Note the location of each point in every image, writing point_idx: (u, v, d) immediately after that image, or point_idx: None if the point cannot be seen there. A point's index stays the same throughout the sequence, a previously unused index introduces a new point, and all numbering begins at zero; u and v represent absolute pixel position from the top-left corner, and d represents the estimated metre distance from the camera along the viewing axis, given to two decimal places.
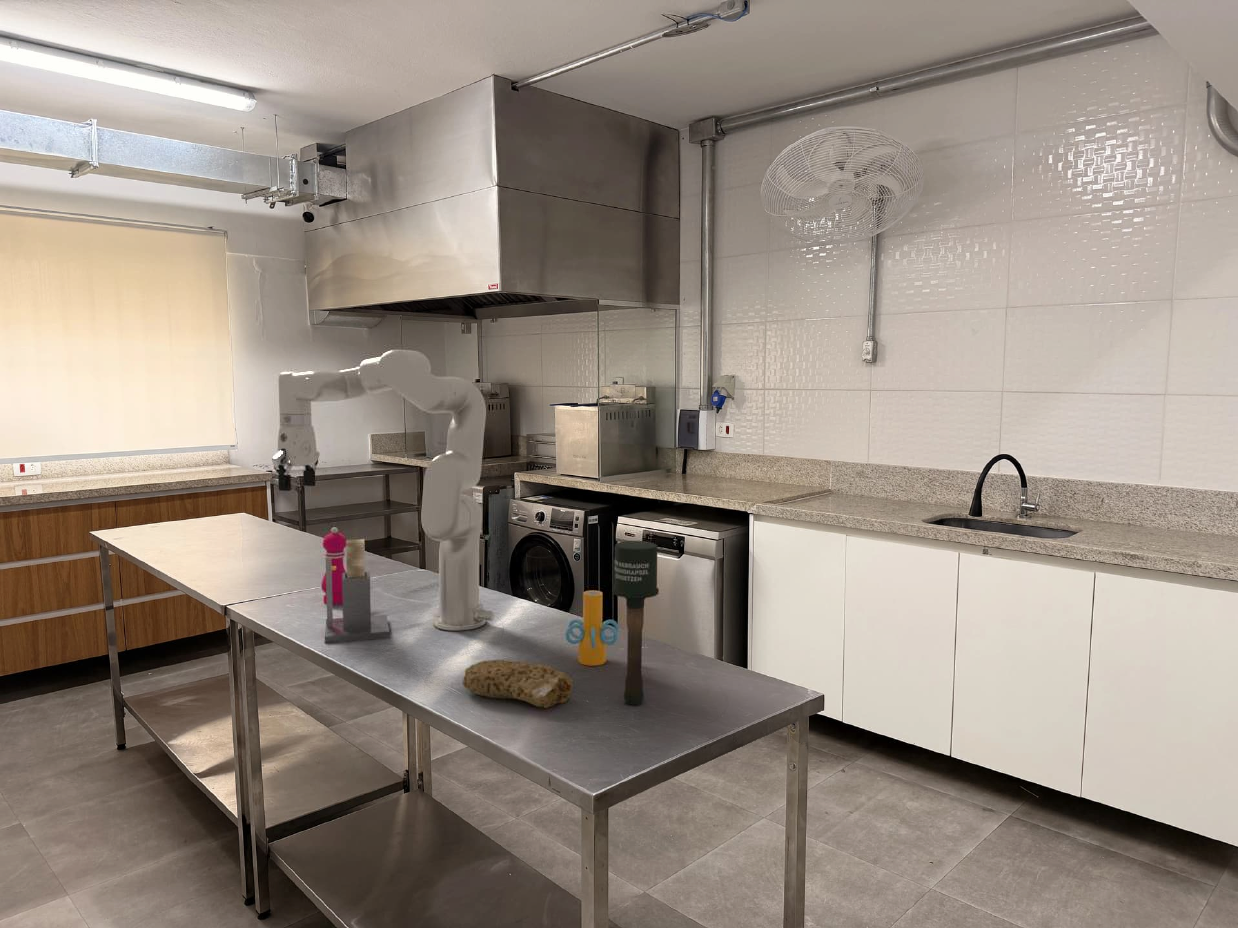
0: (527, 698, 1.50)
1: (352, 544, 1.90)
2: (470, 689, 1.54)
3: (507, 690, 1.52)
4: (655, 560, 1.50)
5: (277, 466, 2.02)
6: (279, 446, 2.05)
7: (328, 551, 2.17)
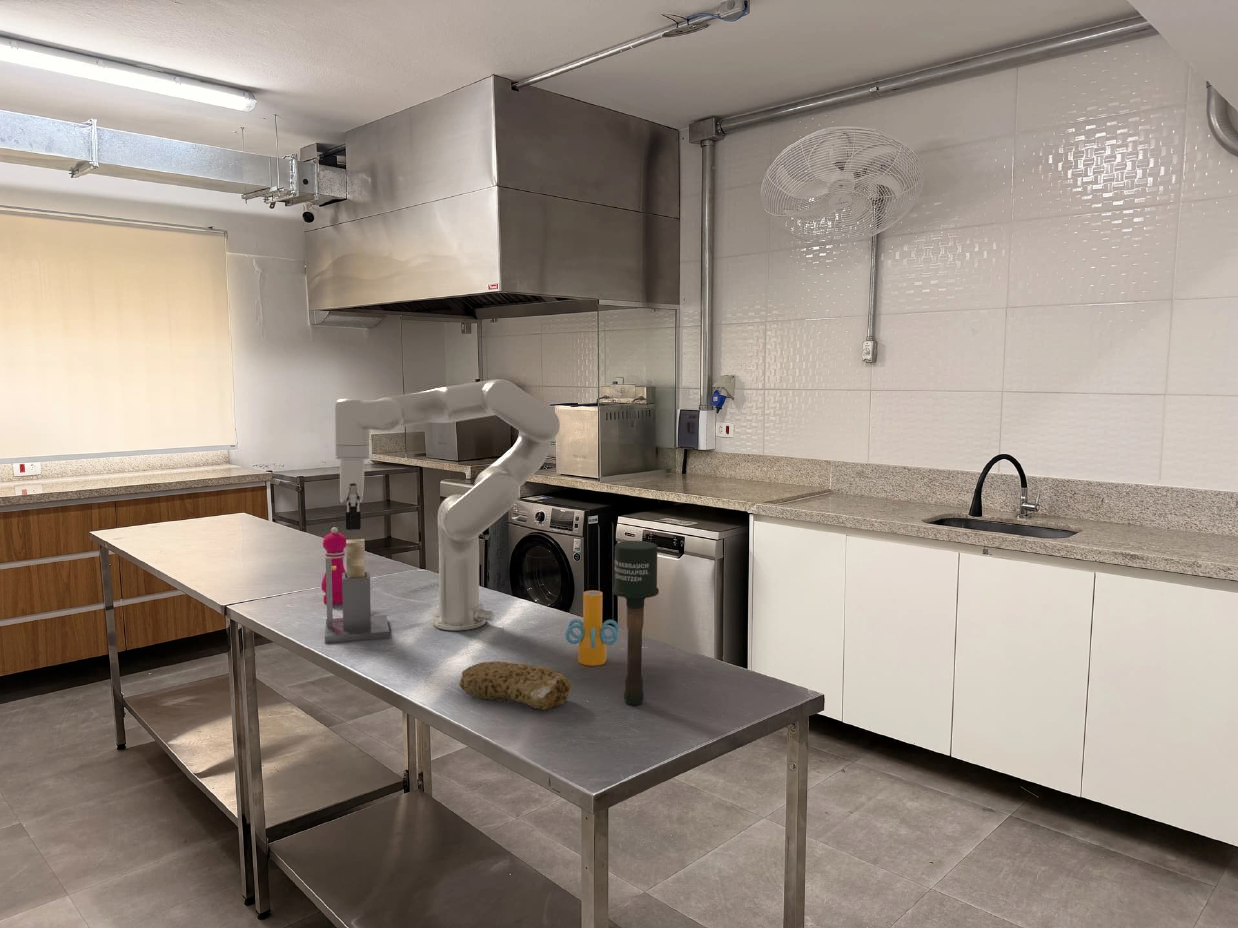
0: (525, 700, 1.49)
1: (352, 544, 1.90)
2: (467, 691, 1.53)
3: (505, 692, 1.51)
4: (655, 560, 1.50)
5: None
6: None
7: (328, 551, 2.17)
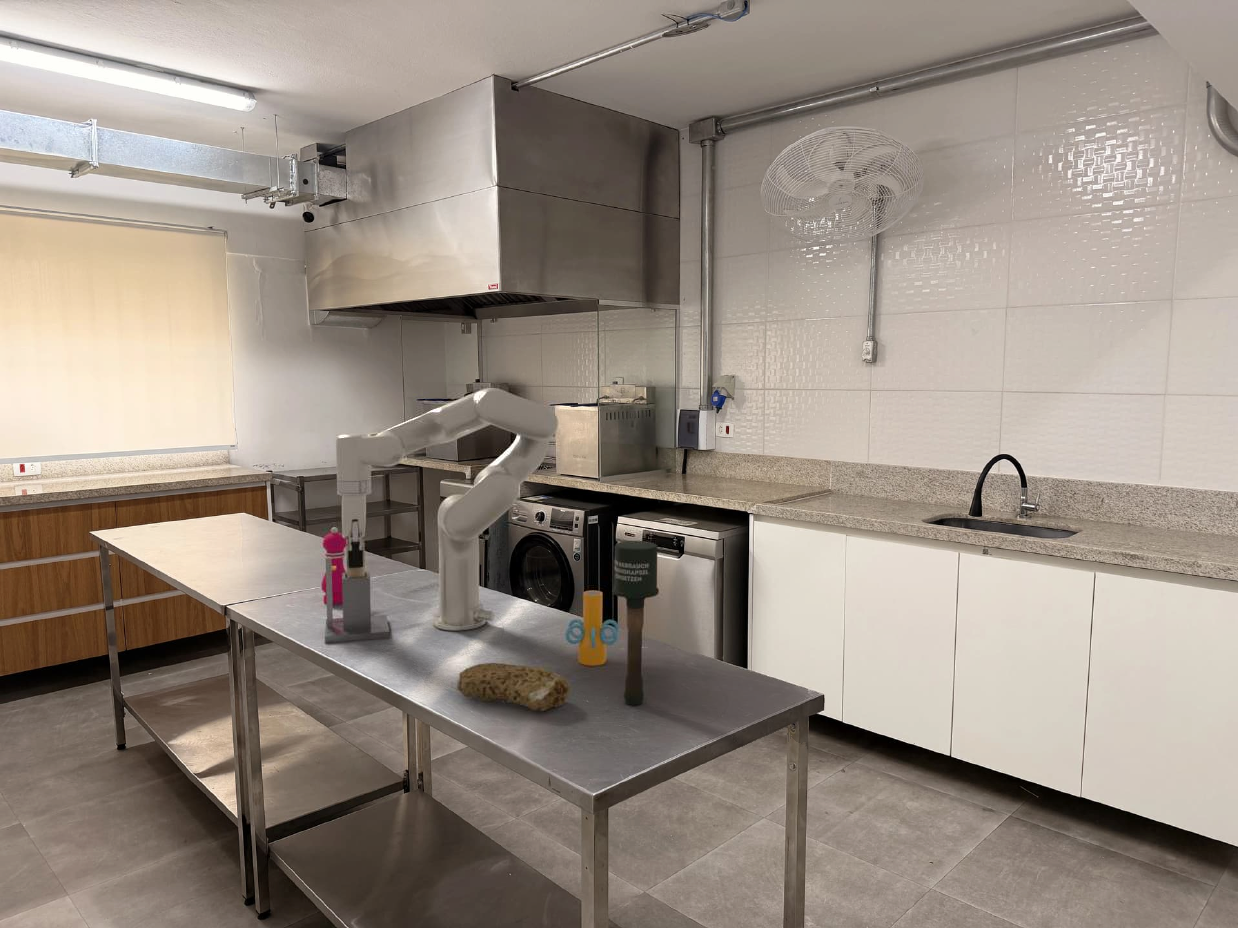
0: (524, 702, 1.48)
1: None
2: (465, 693, 1.52)
3: (503, 694, 1.50)
4: (655, 560, 1.50)
5: None
6: None
7: (328, 551, 2.17)
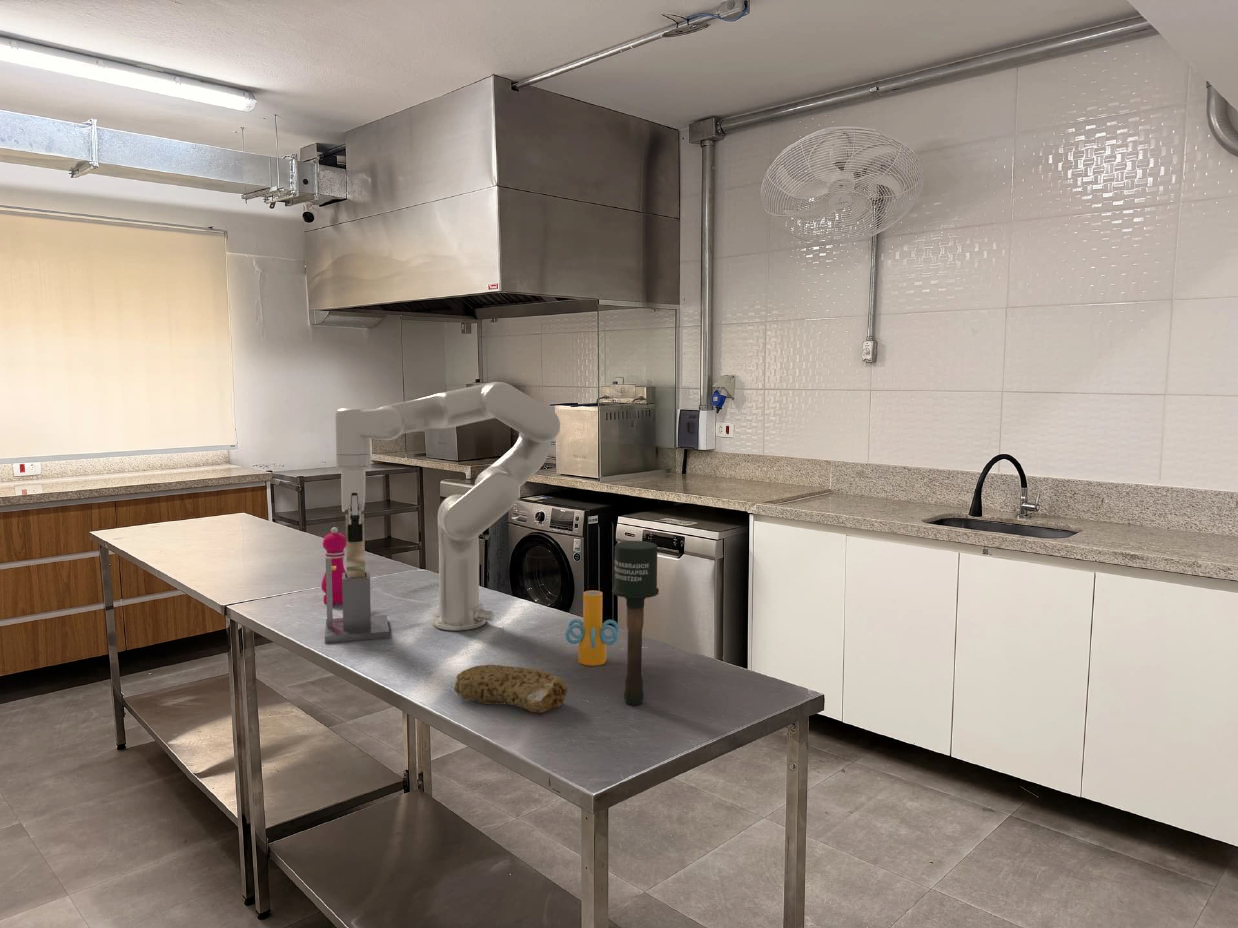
0: (522, 703, 1.47)
1: None
2: (463, 695, 1.51)
3: (501, 696, 1.49)
4: (655, 560, 1.50)
5: None
6: None
7: (328, 551, 2.17)
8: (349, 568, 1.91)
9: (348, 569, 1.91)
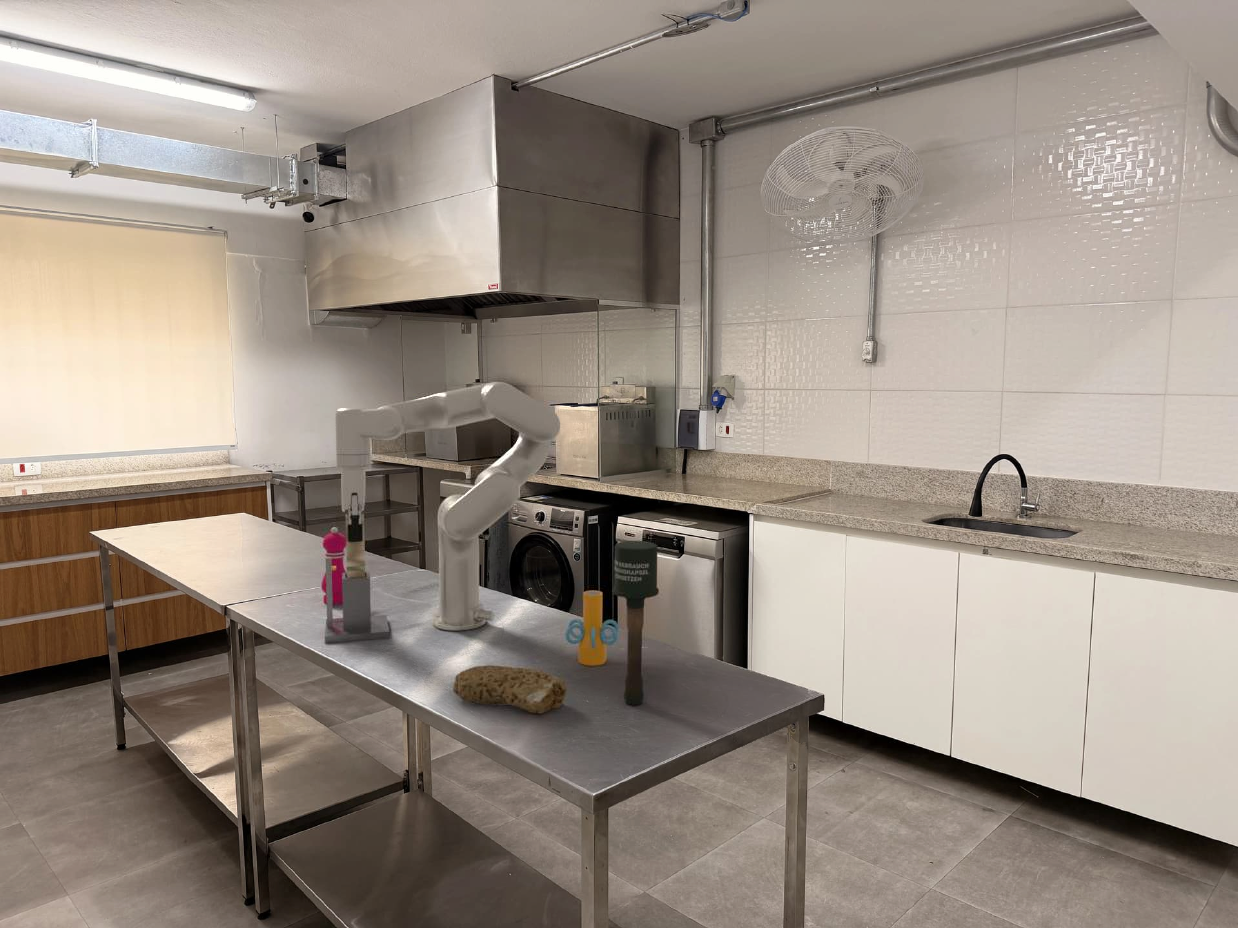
0: (521, 704, 1.47)
1: None
2: (461, 696, 1.51)
3: (500, 696, 1.49)
4: (655, 560, 1.50)
5: None
6: None
7: (328, 551, 2.17)
8: (349, 568, 1.91)
9: (348, 569, 1.91)
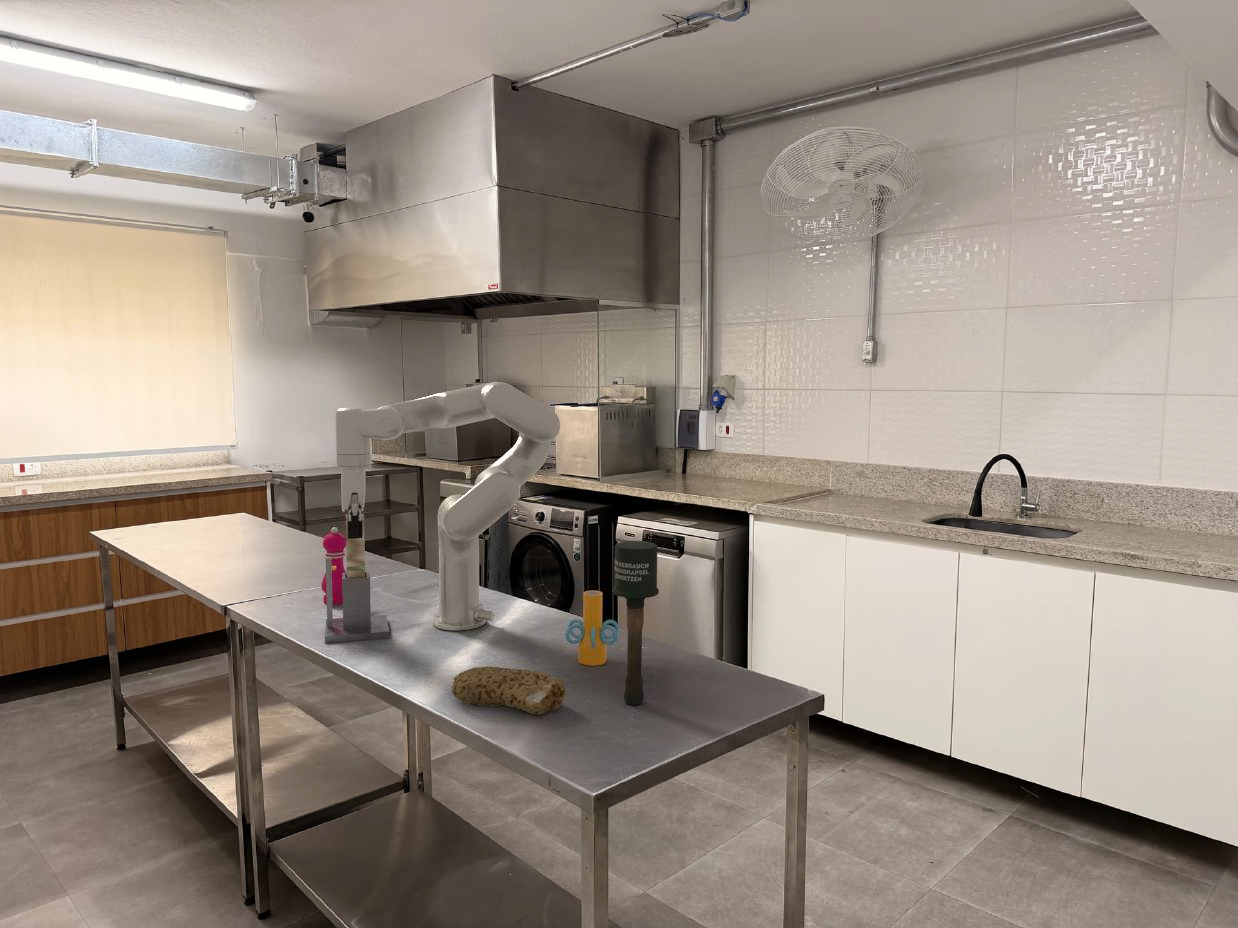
0: (521, 705, 1.46)
1: None
2: (460, 697, 1.50)
3: (499, 698, 1.48)
4: (655, 560, 1.50)
5: None
6: None
7: (328, 551, 2.17)
8: (349, 568, 1.91)
9: (348, 569, 1.91)
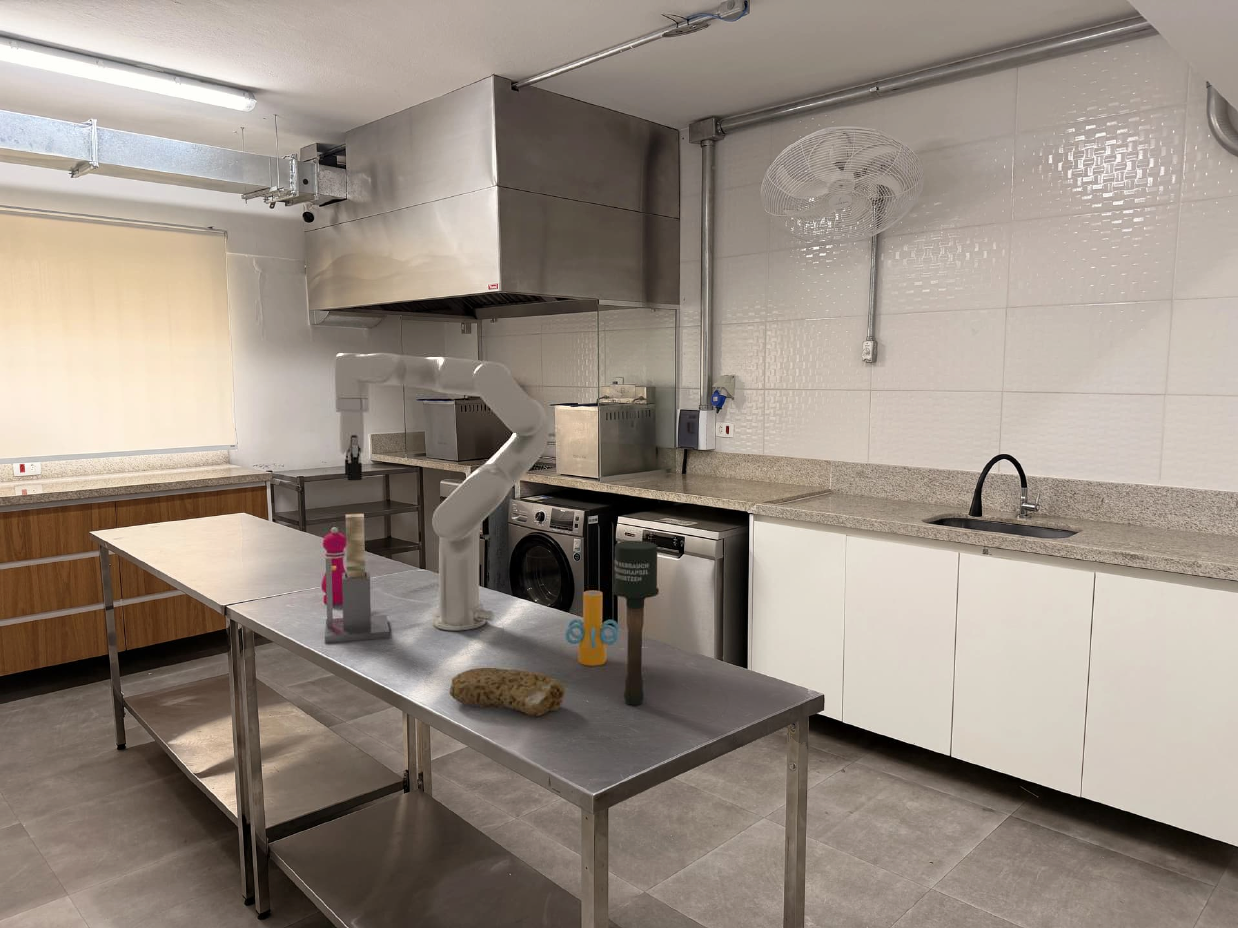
0: (520, 706, 1.46)
1: (351, 518, 1.90)
2: (458, 699, 1.50)
3: (498, 699, 1.48)
4: (655, 560, 1.50)
5: None
6: None
7: (328, 551, 2.17)
8: (349, 568, 1.91)
9: (348, 569, 1.91)
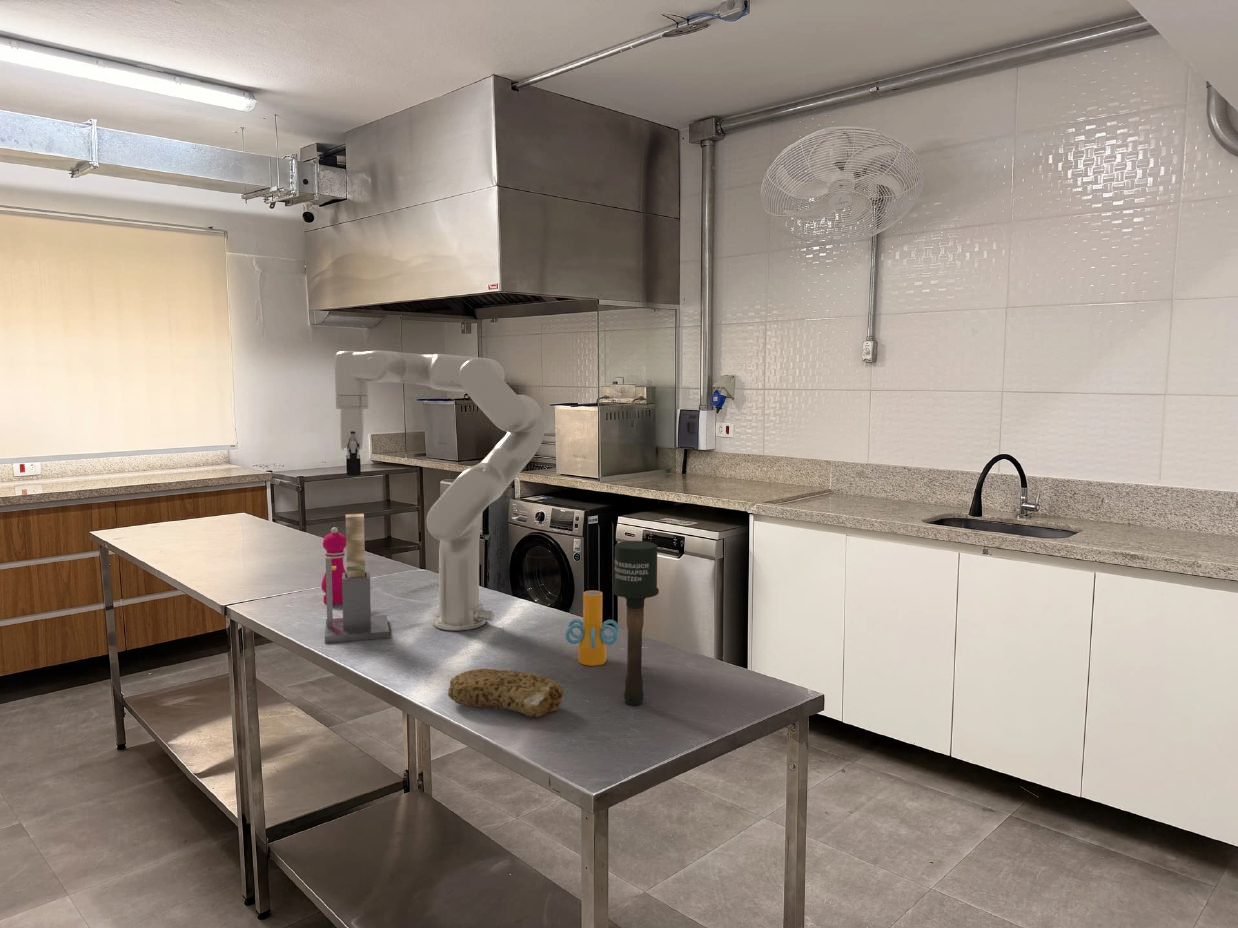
0: (518, 708, 1.45)
1: (351, 518, 1.90)
2: (457, 700, 1.49)
3: (497, 700, 1.47)
4: (655, 560, 1.50)
5: None
6: None
7: (328, 551, 2.17)
8: (349, 568, 1.91)
9: (348, 569, 1.91)
